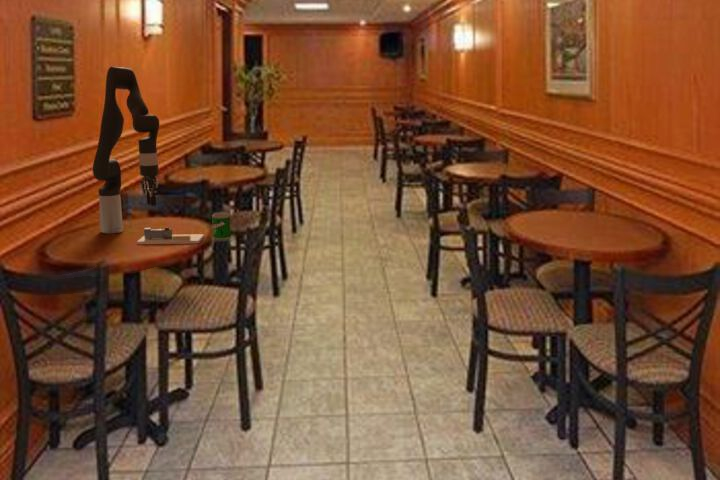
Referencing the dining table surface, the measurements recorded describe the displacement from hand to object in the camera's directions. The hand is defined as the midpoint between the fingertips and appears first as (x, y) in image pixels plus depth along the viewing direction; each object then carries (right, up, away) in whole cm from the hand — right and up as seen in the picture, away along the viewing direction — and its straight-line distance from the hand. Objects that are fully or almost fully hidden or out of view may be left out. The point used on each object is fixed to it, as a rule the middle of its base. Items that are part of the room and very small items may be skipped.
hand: (151, 204), depth 320 cm
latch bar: (+1, -14, +9) cm, 17 cm away
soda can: (+27, -15, +12) cm, 33 cm away
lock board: (+5, -15, +11) cm, 20 cm away
